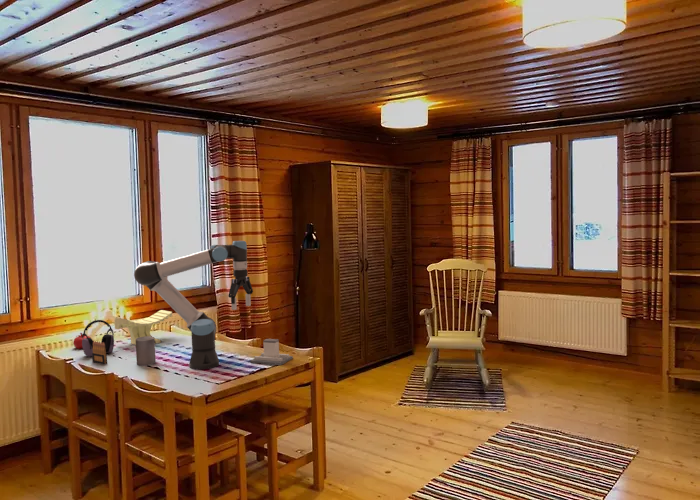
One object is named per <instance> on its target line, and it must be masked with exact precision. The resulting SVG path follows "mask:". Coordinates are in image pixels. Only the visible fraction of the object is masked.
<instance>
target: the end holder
mask: <svg viewBox="0 0 700 500" xmlns="http://www.w3.org/2000/svg"><path fill="white" fill-rule="evenodd" d="M293 358H294V357H293V356H292V355H290V354H289V353H287V354H286V353H279V358H275V357H264V352H261V353H260V355H258V356H257V355H256V356H254V357H253V359H251V360H250V364H258V363H261V365H271V364H272V365H274V366H282V365H284V364H285V363H287V362H289V361H291V360H292V359H293Z"/></svg>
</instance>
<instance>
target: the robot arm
mask: <svg viewBox="0 0 700 500" xmlns="http://www.w3.org/2000/svg"><path fill="white" fill-rule="evenodd" d="M226 259H230V260H231V259H232V268H233V271H232V273H233V277H235V278H232V279H231V280H230V281H231V284H230V287H229V291H228V298H230V301H231V303H230V304H231V310H232V311H233V310H234V311H236V310H238V309H237V297H236V296H237V294H238V292H239V289H240V288H241V287H242V288H243V289H244V291H245V306H246V307H251V301H252V300H251V299H252V298H251V297H252V296H251V295H253V293H254V289H253V287H252V283H251V281H250V276H248V245H247V242H246V240H233V241H232V243H231V244H213V245H210V248H209V249H205V250H202V251H198V252H194V253H191V254H188V255H184V256H180V257H178V258H174V259H170V260H167V261H163V262H159V261H153V260H148V261H144V262H142V263H141V264H139V265H138V266H136V268H135V270H134V273H133V276H134V279H135V281H136V283H138V284H139V285H142V286H146V287H147V289H149V290H150V291H153V292H156V293H157V294H158V296H160V297H161V299H163V300H164V301H165V303H167V305H169V306H170V307H171V309H172V310H174V312H175V313H176V314H177V315H178V316H179V317H180V318H181V319H182V320H183V321H184V322H185V323H186V328H187V329H189V330H190V332H191V333H190V335H191V356H190V359H189V362H188V363H189V364H188V365H189V368H190V369H193V370H208V369H213V368H216V367H218V366H220V359H219V357H218V354H217V353H218V352H216V338H215V337H216V336H215V335H216V332H217V324H216V322H215V321H214V320H213V319H212V318H211V317H209V316H208V314H206V313H205V312H204V311H199V310H198V309H197V308H196V307H195V306H194V305H193V304H192V303H191V302H190V301H189V300H188V299H187V298H186V297H185V295H184V294H182V293H181V292H180V291H179V290H178V289H177V288H176V287H175V286H174V284H172V283H171V281H170V280H168V277H169V276H170V277H171V276H173V275H177V274H180V273H184V272H187V271H191V270H194V269H197V268H200V267H203V266H204V267H205V266H208V265H211V264H215V263H219V262H223V261H225V260H226Z"/></svg>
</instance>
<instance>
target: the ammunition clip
mask: <svg viewBox="0 0 700 500" xmlns="http://www.w3.org/2000/svg"><path fill="white" fill-rule="evenodd" d="M107 354H108V353H107V352H106V349H105V344H104V342H103V343H102V342H101V341H100V340H99V341H98V340H93V353H92V356H91V357H92V363H95V364H98V365H99V364H100V365H108V355H107Z"/></svg>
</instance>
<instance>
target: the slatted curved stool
mask: <svg viewBox="0 0 700 500" xmlns="http://www.w3.org/2000/svg"><path fill="white" fill-rule="evenodd" d="M170 317H173V311H169V310H164V309H160V310H158V311H157V312H155V313H153V314H152V315H150V316H149V317H145V318H142V319H138V320H128V319H126V318H123V317H122V318H121V317H118V316H117V317H115V318H114V329H115V330H121V329H125V328H127V330H128V332H129V336H130V344H133V345H135V346H136V338H139V337H145V336H152V334H151V329H152V327H153V325H156V324H161V322H162V323H163V322H164V321H165V320H168V319H169V318H170ZM154 340H155V344H160V343H162V342H161V340H160V339H159V338H156V337H155V338H154Z"/></svg>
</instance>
